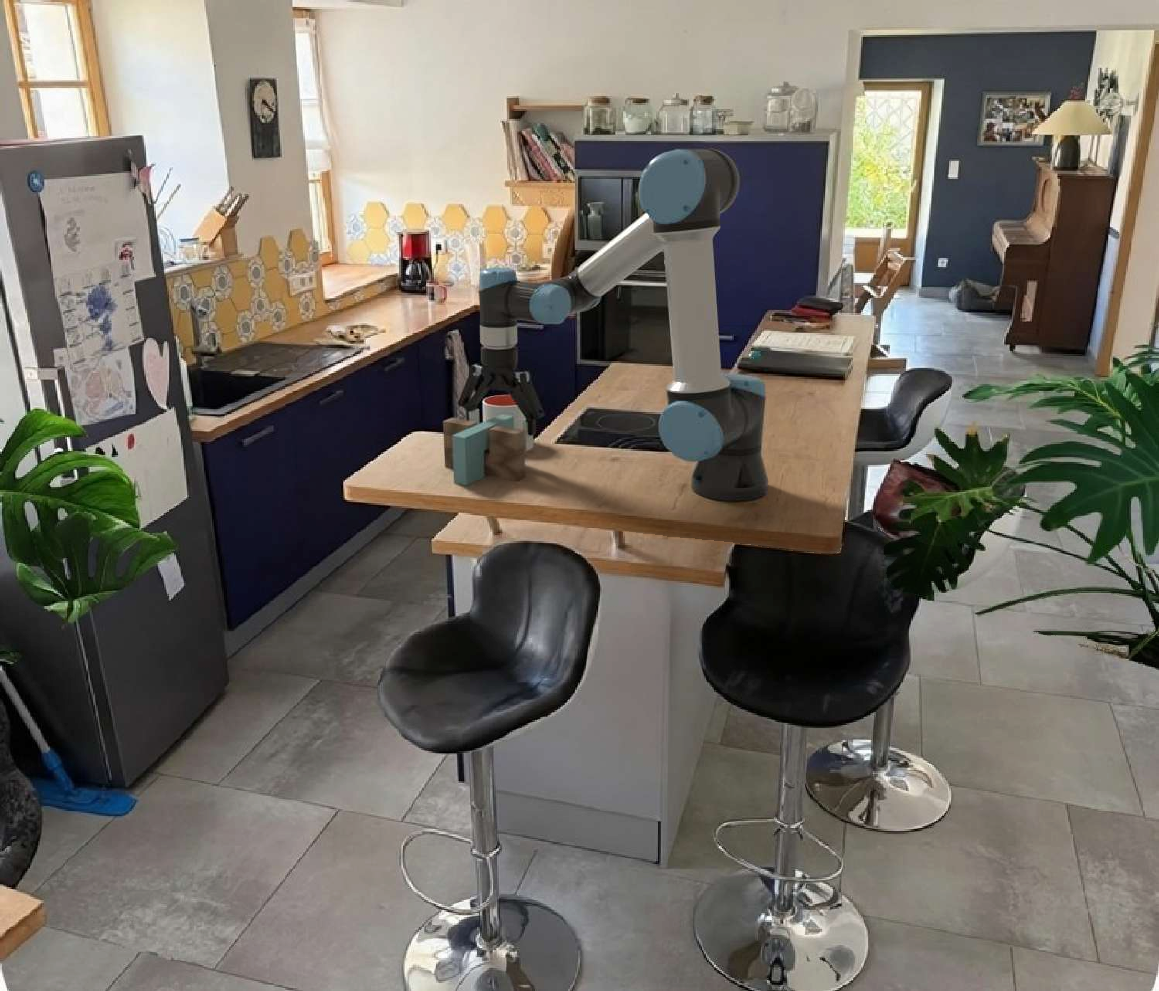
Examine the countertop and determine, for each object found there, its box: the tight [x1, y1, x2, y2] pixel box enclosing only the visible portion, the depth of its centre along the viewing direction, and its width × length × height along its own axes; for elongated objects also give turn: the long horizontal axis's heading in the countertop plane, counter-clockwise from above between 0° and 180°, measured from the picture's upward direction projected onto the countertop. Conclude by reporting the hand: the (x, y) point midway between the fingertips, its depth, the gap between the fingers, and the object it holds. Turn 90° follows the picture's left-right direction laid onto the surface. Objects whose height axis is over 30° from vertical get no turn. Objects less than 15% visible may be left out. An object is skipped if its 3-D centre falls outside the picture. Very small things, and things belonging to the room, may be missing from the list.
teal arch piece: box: [452, 414, 514, 486], centre depth 211 cm, size 18×3×10 cm, turn 151°
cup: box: [482, 394, 526, 430], centre depth 230 cm, size 10×10×10 cm
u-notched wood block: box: [442, 417, 526, 482], centre depth 211 cm, size 18×3×10 cm, turn 61°
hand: (501, 444), depth 216 cm, fingers open, 13 cm apart
